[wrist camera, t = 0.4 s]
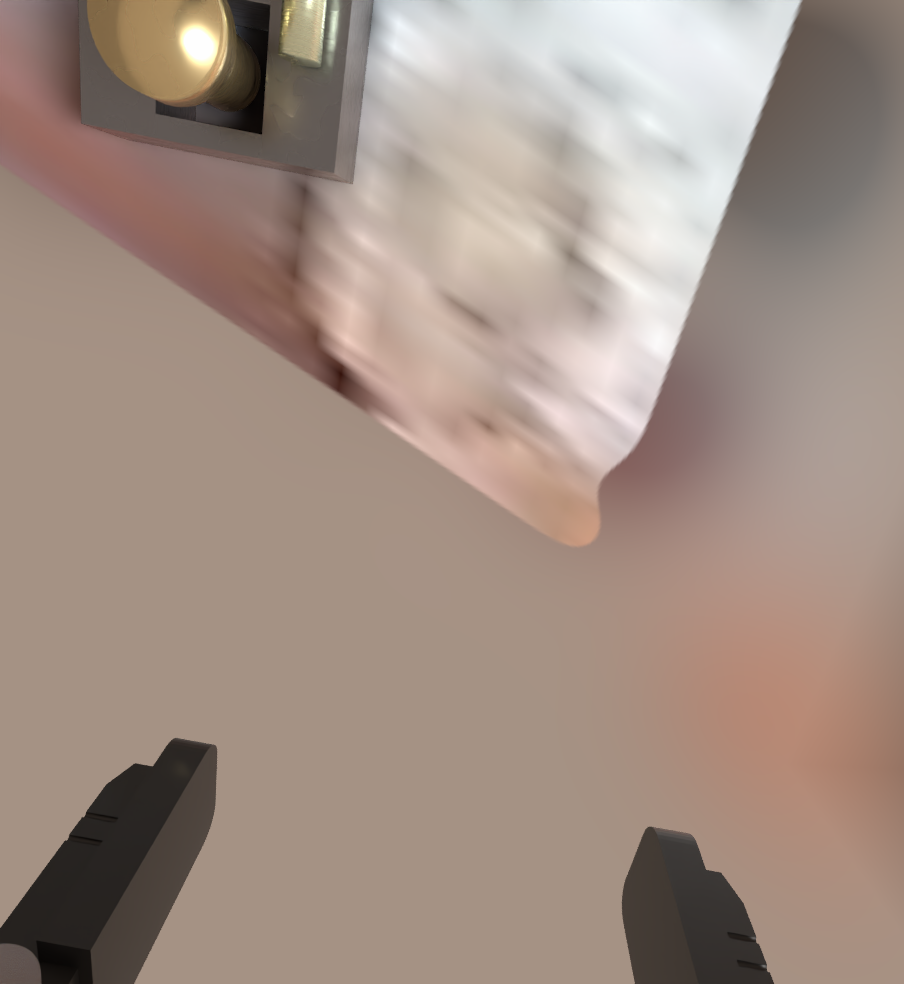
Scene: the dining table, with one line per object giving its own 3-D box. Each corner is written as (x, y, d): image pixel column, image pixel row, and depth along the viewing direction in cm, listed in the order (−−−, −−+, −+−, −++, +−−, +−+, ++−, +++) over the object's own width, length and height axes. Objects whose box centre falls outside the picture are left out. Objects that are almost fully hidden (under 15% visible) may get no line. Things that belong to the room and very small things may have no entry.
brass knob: (177, -1, 28) (85, -79, 22) (283, 20, 28) (222, -51, 22) (174, 122, 30) (88, 83, 24) (275, 142, 30) (216, 108, 24)
